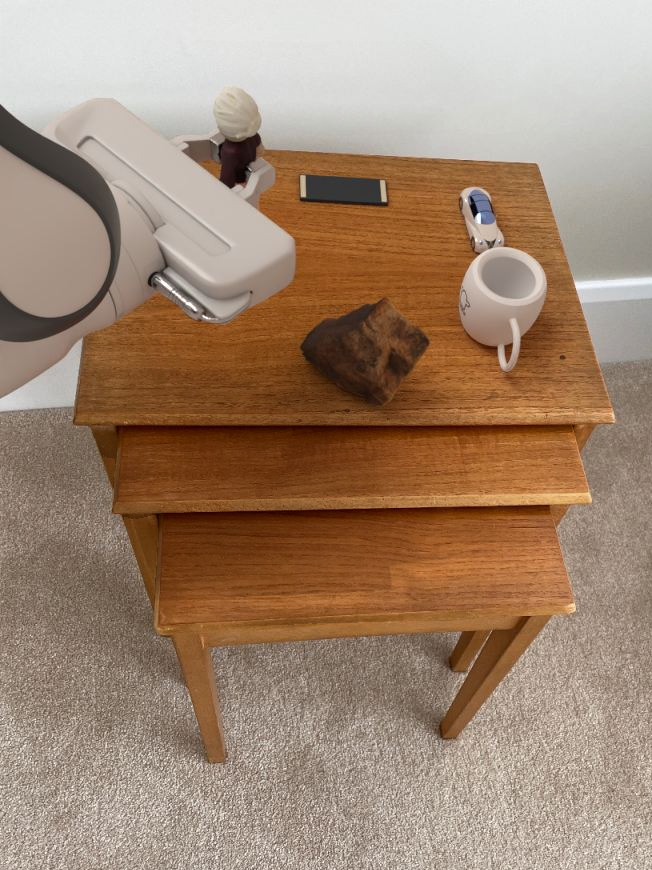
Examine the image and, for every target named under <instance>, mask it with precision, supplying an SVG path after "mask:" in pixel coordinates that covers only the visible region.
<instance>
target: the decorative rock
mask: <svg viewBox="0 0 652 870" xmlns="http://www.w3.org/2000/svg"><path fill="white" fill-rule="evenodd" d="M431 343H432V341H431V338H430V337H429V336H428V335H427V334H426V333H425V331H424V330H423V328H422V327H419V326H416V325H414V323H413V322H412V321H411V320H410V319H408V318H407V317H406V316H405V315H403V314H402V312H401V311H399V310H398V309H397V308H396V307H395V305H394V304H393V302H392V301H391V300H390V298H388V297H382V298H381V299H379V300H378V301H377V302H375V303H366V304H363V305H361V306H360V307H358V308H356V309H354V310H351V311H350V312H348V313H346V314H342V315H340V316H339V317H338V318H331V317H330V318H329V317H327V318H324V319H323V320H321V322H320V323H318V324H317V325H316V326H314V327H313V328H312V330H310V331H309V332H308V333H307V334H306V336H305V338H304V339H303V340H302V342H301V343H300V346H299V349H300V350H301V351H302V353H301V355H302V356H303V357H304V359H305V361H306V362H308V363H309V364H311V365H312V366H313V367H314V368H315V369H316V370H317V371H318V372H320V374H321V375H322V376H325V377H326V378H328V379H330V380H331V381H332V382H333V383H334V384H335V385H336V386H337V387H339V388H340V390H343V391H345V392H349V393H352V394H355V395H357V396H361V397H362V398H363V399H364V400H365V401H366V402H368V403H369V404H371V405H372V406H374V407H377V408H381V407H383V406H385V405H387V404H388V403H389V402H391V401H392V400H393V397H394V396H395V394H396V393H397V391H398V389H400V387H401V385H402V384H403V381H404V380H405V379H406V377H408V376H409V375H410V374H411V372H412V371H413V370H414V369H415V367H416V365H417V364H418V362H419V361H420V360H421V359H422V358H423V356H424V355H425V353H426V351H427V350H428V349H429V347H430V345H431Z"/></svg>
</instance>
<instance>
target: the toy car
mask: <svg viewBox="0 0 652 870" xmlns="http://www.w3.org/2000/svg"><path fill="white" fill-rule="evenodd" d="M458 207H459V210H461V214H462V215H463V216H464V221H465V225H466V229H467V233H468V236H469V240H470V247H471V249H472V251H474V252H475V253H479V254H481V253H483V252H484V251H486V250H489V249H491V248H496V247H505V236H504V234H503V233H502V230H501V229H500V228H499V226H498V225H497V218H496V217H498V214H496V215H495V211H494V208H493V205H492V197H491V194H490V193H489V192H488V191H487V190H486V189H484V188H482V187H479V186H470V187H466V188H464V189H463V190H461V192H460V194H459V197H458Z"/></svg>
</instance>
